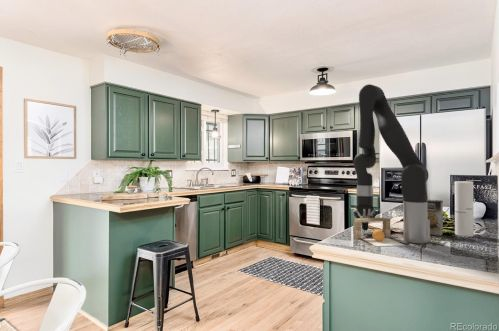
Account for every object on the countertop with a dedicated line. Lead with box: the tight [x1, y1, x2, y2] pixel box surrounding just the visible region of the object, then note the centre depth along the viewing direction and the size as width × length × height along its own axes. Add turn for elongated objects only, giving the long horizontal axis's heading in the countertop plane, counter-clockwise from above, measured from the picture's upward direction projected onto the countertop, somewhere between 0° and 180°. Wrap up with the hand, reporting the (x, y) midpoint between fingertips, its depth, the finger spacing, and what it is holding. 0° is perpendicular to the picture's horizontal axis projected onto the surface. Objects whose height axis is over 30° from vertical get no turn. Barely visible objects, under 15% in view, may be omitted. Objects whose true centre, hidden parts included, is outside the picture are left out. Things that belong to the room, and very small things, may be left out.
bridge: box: [353, 217, 391, 240], centre depth 138 cm, size 3×16×9 cm, turn 96°
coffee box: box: [427, 199, 444, 236], centre depth 145 cm, size 9×6×16 cm
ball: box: [371, 229, 386, 241], centre depth 132 cm, size 5×5×5 cm
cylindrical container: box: [454, 180, 475, 238], centre depth 142 cm, size 7×7×25 cm
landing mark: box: [362, 237, 405, 247], centre depth 129 cm, size 12×12×1 cm
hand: (364, 230), depth 147 cm, fingers closed
